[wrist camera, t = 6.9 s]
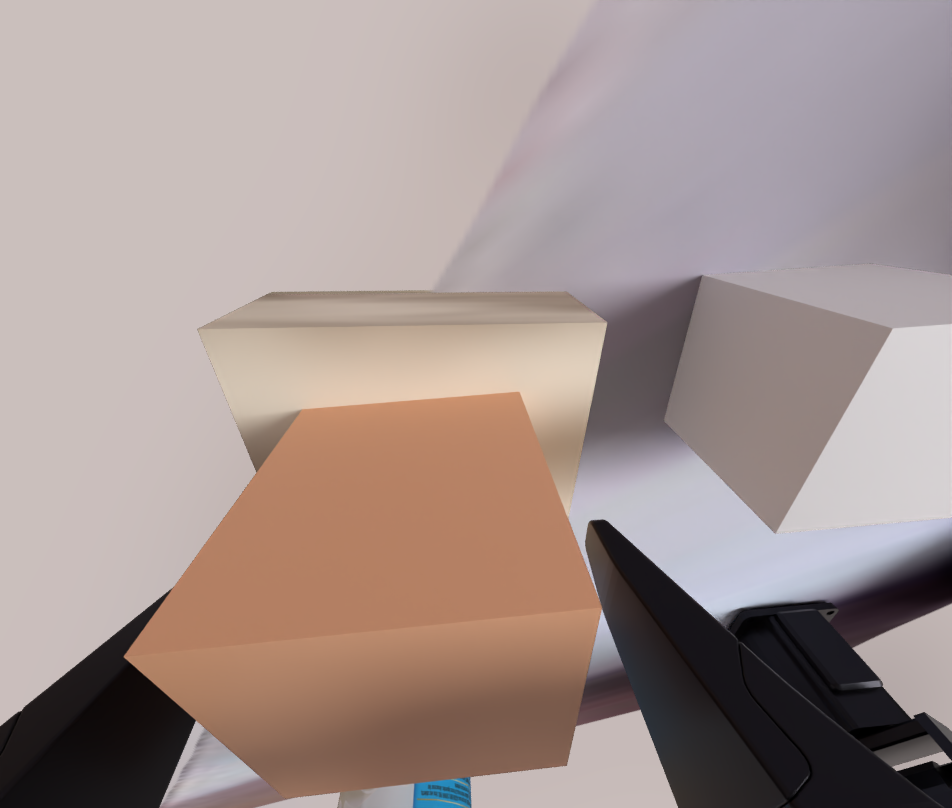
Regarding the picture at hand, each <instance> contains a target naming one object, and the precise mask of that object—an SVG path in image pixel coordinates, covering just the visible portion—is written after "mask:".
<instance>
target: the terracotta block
mask: <svg viewBox="0 0 952 808" xmlns="http://www.w3.org/2000/svg"><path fill="white" fill-rule="evenodd" d="M601 610H602V606H601V604H600V601H599V598H598V596H597V593H596V590H595V588H594V585H593V583H592V580H591V577H590V575H589V572H588V570H587V567H586V564H585V562H584V559H583V556H582V554H581V551H580V549H579V546H578V543H577V541H576V538H575V536H574V533H573V530H572V528H571V525H570V522H569V520H568V517H567V515H566V512H565V509H564V507H563V504H562V502H561V499H560V496H559V494H558V491H557V488H556V486H555V483H554V481H553V478H552V475H551V473H550V470H549V468H548V465H547V462H546V460H545V457H544V454H543V452H542V449H541V447H540V444H539V441H538V439H537V436H536V434H535V431H534V428H533V426H532V423H531V420H530V418H529V415H528V413H527V410H526V407H525V405H524V402H523V400H522V397H521V394H520V392H508V393H496V394H484V395H471V396H459V397H447V398H435V399H422V400H410V401H398V402H386V403H373V404H361V405H349V406H337V407H325V408H312V409H302V411H301V412H300V413H299V415H298V416H297V418H296V419H295V420H294V422H293V423H292V424H291V426H290V427H289V429H288V430H287V431H286V433H285V434H284V435H283V437H282V438H281V440H280V441H279V442H278V444H277V445H276V447H275V448H274V449H273V451H272V452H271V453H270V455H269V456H268V458H267V459H266V460H265V462H264V463H263V465H262V466H261V467H260V469H259V470H258V471H257V473H256V474H255V476H254V477H253V478H252V480H251V481H250V483H249V484H248V485H247V487H246V488H245V489H244V491H243V492H242V494H241V495H240V496H239V498H238V499H237V501H236V502H235V503H234V505H233V506H232V508H231V509H230V510H229V512H228V513H227V515H226V516H225V517H224V518H223V520H222V521H221V523H220V524H219V525H218V527H217V528H216V530H215V531H214V532H213V534H212V535H211V536H210V538H209V539H208V541H207V542H206V544H205V545H204V546H203V548H202V549H201V550H200V552H199V553H198V555H197V556H196V557H195V559H194V560H193V561H192V563H191V564H190V566H189V567H188V568H187V570H186V571H185V573H184V574H183V575H182V577H181V578H180V579H179V581H178V582H177V584H176V585H175V586H174V588H173V589H172V590H171V592H170V593H169V595H168V596H167V597H166V599H165V600H164V602H163V603H162V604H161V606H160V607H159V608H158V610H157V611H156V613H155V614H154V615H153V617H152V618H151V619H150V621H149V622H148V624H147V625H146V626H145V628H144V629H143V631H142V632H141V633H140V635H139V636H138V637H137V639H136V640H135V642H134V643H133V644H132V646H131V647H130V649H129V650H128V651H127V653H126V654H125V655H124V658H125V659H127V660H128V661H129V662H130V663H131V664H132V665H133V666H135V667H136V668H137V669H138V670H139V671H140V672H141V673H143V674H144V675H145V676H146V677H147V678H148V679H149V680H151V681H152V682H153V683H154V684H155V685H156V686H157V687H159V688H160V689H161V690H162V691H163V692H164V693H165V694H167V695H168V696H169V697H170V698H171V699H172V700H173V701H175V702H176V703H177V704H178V705H179V706H180V707H181V708H183V709H184V710H185V711H186V712H187V713H188V714H189V715H190V716H192V717H193V718H194V719H195V720H196V721H197V722H198V723H200V724H201V725H202V726H203V727H204V728H205V729H206V730H208V731H209V732H210V733H211V734H212V735H213V736H214V737H216V738H217V739H218V740H219V741H220V742H221V743H222V744H224V745H225V746H226V747H227V748H228V749H229V750H230V751H232V752H233V753H234V754H235V755H236V756H237V757H238V758H240V759H241V760H242V761H243V762H244V763H245V764H246V765H248V766H249V767H250V768H251V769H252V770H253V771H254V772H255V773H257V774H258V775H259V776H260V777H261V778H262V779H263V780H265V781H266V782H267V783H268V784H269V785H270V786H271V787H273V788H274V789H275V790H276V791H277V792H278V793H279V794H281V795H282V796H283V797H284V798H285V799H286V798H295V797H303V796H312V795H319V794H328V793H337V792H346V791H355V790H363V789H372V788H380V787H389V786H397V785H406V784H414V783H423V782H431V781H440V780H449V779H457V778H466V777H474V776H483V775H490V774H500V773H508V772H517V771H525V770H534V769H542V768H550V767H559V766H567V762H568V758H569V754H570V749H571V744H572V740H573V736H574V731H575V727H576V722H577V718H578V713H579V709H580V704H581V700H582V695H583V691H584V686H585V682H586V677H587V673H588V668H589V664H590V659H591V655H592V650H593V646H594V641H595V637H596V632H597V628H598V624H599V619H600V615H601Z"/></svg>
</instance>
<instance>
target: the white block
mask: <svg viewBox="0 0 952 808" xmlns="http://www.w3.org/2000/svg"><path fill="white" fill-rule="evenodd" d="M664 421H665V422H666V423H667V424H668V426H669V427H670V428H671V429H672V430H673V431H674V432H675V433H676V434H677V435H678V436H679V437H680V438H681V439H682V440H683V441H684V442H685V443H686V444H687V445H688V446H689V447H690V448H691V449H692V450H693V451H694V452H695V453H696V454H697V455H698V456H699V457H700V458H701V459H702V460H703V461H704V462H705V463H706V464H707V465H708V466H709V467H710V468H711V469H712V470H713V471H714V472H715V473H716V474H717V475H718V476H719V477H720V478H721V479H722V480H723V481H724V482H725V483H726V484H727V485H728V486H729V487H730V488H731V489H732V490H733V491H734V492H735V493H736V494H737V495H738V496H739V498H740V499H741V500H742V501H743V502H744V503H745V504H746V505H747V506H748V507H749V508H750V509H751V510H752V511H753V512H754V513H755V514H756V515H757V516H758V517H759V518H760V519H761V520H762V521H763V522H764V523H765V524H766V525H767V526H768V527H769V528H770V529H771V530H772V531H773V532H774V533H775V534H780V533H791V532H802V531H812V530H823V529H834V528H845V527H856V526H867V525H878V524H889V523H900V522H911V521H922V520H932V519H943V518H952V275H949V274H942V273H935V272H928V271H921V270H914V269H907V268H899V267H892V266H885V265H878V264H871V263H869V264H855V265H840V266H826V267H811V268H797V269H782V270H768V271H753V272H739V273H724V274H710V275H702V278H701V282H700V286H699V290H698V293H697V297H696V301H695V305H694V309H693V312H692V316H691V320H690V324H689V327H688V331H687V335H686V339H685V342H684V346H683V350H682V354H681V357H680V361H679V365H678V369H677V373H676V376H675V380H674V384H673V388H672V391H671V395H670V399H669V403H668V406H667V410H666V414H665V418H664Z"/></svg>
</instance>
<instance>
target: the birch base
mask: <svg viewBox="0 0 952 808" xmlns="http://www.w3.org/2000/svg"><path fill="white" fill-rule="evenodd" d="M431 292H432V290H408V291H407V290H404V291H308V292H271V293H269V294H267V295H265V296H263V297H261V298H259V299H257V300H255V301H253V302H251V303H249V304H247V305H245V306H243V307H241V308H239V309H237V310H235V311H233V312H231V313H229V314H227V315H225V316H223V317H221V318H219V319H217V320H215V321H213V322H211V323H209V324H207V325H205V326H203V327H201V328H199V329H197V330H198V332H199V335H200V337H201V339H202V342H203V344H204V347H205V349H206V352H207V354H208V356H209V359H210V361H211V364H212V366H213V369H214V371H215V373H216V376H217V378H218V381H219V383H220V385H221V388H222V390H223V393H224V395H225V397H226V400H227V402H228V405H229V407H230V410H231V412H232V414H233V417H234V419H235V422H236V424H237V427H238V429H239V431H240V433H241V436H242V439H243V441H244V443H245V446H246V448H247V450H248V453H249V455H250V458H251V460H252V462H253V465H254V467H255V470H256V472H257V471H258V470H259V469H260V467H261V466H262V465H263V463H264V462H265V460H266V459H267V458H268V456H269V455H270V453H271V452H272V451H273V449H274V448H275V447H276V445H277V444H278V442H279V441H280V440H281V438H282V437H283V435H284V434H285V433H286V431H287V430H288V429H289V427H290V426H291V424H292V423H293V422H294V420H295V419H296V418H297V416H298V415H299V413H300V412H301V411H302V409H312V408H325V407H337V406H349V405H361V404H373V403H386V402H398V401H410V400H422V399H435V398H447V397H459V396H471V395H484V394H496V393H508V392H520V394H521V397H522V400H523V402H524V405H525V407H526V410H527V413H528V415H529V418H530V420H531V423H532V426H533V428H534V431H535V434H536V436H537V439H538V441H539V444H540V447H541V449H542V452H543V454H544V457H545V460H546V462H547V465H548V468H549V470H550V473H551V475H552V478H553V481H554V483H555V486H556V488H557V491H558V494H559V496H560V499H561V502H562V504H563V507H564V509H565V512H566V515H567V517H569V512H570V507H571V502H572V497H573V492H574V487H575V482H576V477H577V472H578V467H579V462H580V457H581V452H582V447H583V442H584V437H585V432H586V427H587V422H588V417H589V412H590V407H591V402H592V397H593V392H594V387H595V382H596V377H597V372H598V367H599V362H600V357H601V352H602V347H603V342H604V337H605V332H606V327H607V322H606V321H605V320H603V319H602V318H601V317H599V316H598V315H597V314H595V313H594V312H593V311H591V310H590V309H589V308H588V307H586V306H585V305H584V304H582V303H581V302H580V301H578V300H577V299H576V298H574V297H573V296H572V295H570V294H569V293H568V292H471V293H431Z"/></svg>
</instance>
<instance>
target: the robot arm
mask: <svg viewBox="0 0 952 808" xmlns="http://www.w3.org/2000/svg"><path fill="white" fill-rule="evenodd" d="M585 546H586V551H587V555H588V559H589V562H590V566H591V570H592V573H593V577H594V581H595V585H596V588H597V592H598V596H599V599H600V603H601V606H602V610H603V613H604V615H605V618H606V621H607V624H608V626H609V629H610V631H611V634H612V637H613V639H614V642H615V644H616V647H617V650H618V652H619V655H620V657H621V660H622V663H623V665H624V668H625V670H626V673H627V676H628V678H629V681H630V683H631V686H632V689H633V691H634V694H635V696H636V699H637V702H638V704H639V707H640V709H641V712H642V715H643V717H644V720H645V722H646V725H647V728H648V730H649V733H650V735H651V738H652V740H653V743H654V746H655V748H656V751H657V754H658V756H659V759H660V761H661V764H662V766H663V769H664V772H665V774H666V777H667V780H668V782H669V784H670V787H671V790H672V792H673V795H674V797H675V800H676V803H677V806H678V808H952V762H951V763H947V764H943V765H938V764H937V763H935V762H933V761H930V762H927V763H924V764H920V765H917V766H914V767H910V768H906V769H903V770H900V771H896V770H895V769H893V768H892V766H895V765H899V764H902V763H905V762H909V761H912V760H915V759H919V758H922V757H926V756H929V755H932V754H936V753H939V752H943V751H944V752H945V753H946V755H947V756H948V757H949V758H950V759H951V760H952V731H950V730H949V728H947V727H946V726H944V725H943V724H941V723H940V722H938V721H937V720H935V719H934V718H932V717H931V716H929V715H928V714H926V713H925V712H923V713H920V714H917V715H914V717H915V718H914V719H911V718H910V717H909V716H908V715H907V714H906V713H905V711H904V710H903V709H902V708H901V707H900V706H899V705H898V704H897V703H896V701H895V700H894V699H893V698H892V697H891V696H890V695H889V694H888V693H887V691H886V690H885V689H884V688H883V687H882V686H883V683H882V681H881V680H880V679H879V677H878V676H877V675H876V674H875V673H874V672H873V671H872V670H871V669H870V667H869V666H868V665H867V664H866V663H865V662H864V661H863V660H862V659H861V658H860V656H859V655H858V654H857V653H856V652H855V651H854V650H853V649H852V647H851V646H850V645H849V644H848V643H847V642H846V641H845V640H844V639H843V638H842V636H841V635H840V634H839V633H838V632H837V631H836V630H835V629H834V628H833V626H832V625H831V624H830V623H829V622H830V621H831V619H832V618H833V617H834V616H835V615H836V614H837V612H838V609H837V608H836V607H835V606H834V605H833V604H832V603H819V604H809V605H798V606H787V607H777V608H766V609H756V610H747V611H744V612H742V613H740V614H739V615H738V617H737V618H736V620H735V622H734V623H733V625H732V627H731V628H730V630H729V631H728V630H727V629H726V628H725V627H724V626H723V625H722V624H720V623H719V622H718V621H717V620H716V619H715V618H714V617H713V616H712V615H710V614H709V613H708V612H707V611H706V610H705V609H704V608H703V607H702V606H701V605H699V604H698V603H697V602H696V601H695V600H694V599H693V598H692V597H691V596H689V595H688V594H687V593H686V592H685V591H684V590H683V589H682V588H681V587H680V586H678V585H677V584H676V583H675V582H674V581H673V580H672V579H671V578H670V577H668V576H667V575H666V574H665V573H664V572H663V571H662V570H661V569H660V568H658V567H657V566H656V565H655V564H654V563H653V562H652V561H651V560H650V559H649V558H647V557H646V556H645V555H644V554H643V553H642V552H641V551H640V550H639V549H637V548H636V547H635V546H634V545H633V544H632V543H631V542H630V541H629V540H628V539H626V538H625V537H624V536H623V535H622V534H621V533H620V532H619V531H618V530H616V529H615V528H614V527H613V526H612V525H611V524H610V523H609V522H608V521H606V520H591V521H590V522H589V523H588V528H587V534H586V540H585ZM173 588H174V587H173ZM173 588H172V589H173ZM172 589H171V590H172ZM171 590H169V591H168V592H167V593H166V594H164V595H163V596H162V597H161V598H159V599H158V600H157V601H156V602H155V603H153V604H152V605H151V606H149V607H148V608H147V609H146V610H145V611H143V612H142V613H141V614H140V615H138V616H137V617H136V618H135V619H133V620H132V621H131V622H130V623H128V624H127V625H126V626H125V627H123V628H122V629H121V630H120V631H118V632H117V633H116V634H115V635H113V636H112V637H111V638H110V639H109V640H107V641H106V642H105V643H103V644H102V645H101V646H100V647H99V648H97V649H96V650H95V651H93V652H92V653H91V654H90V655H88V656H87V657H86V658H85V659H84V660H82V661H81V662H80V663H79V664H77V665H76V666H75V667H74V668H72V669H71V670H70V671H69V672H67V673H66V674H65V675H64V676H62V677H61V678H60V679H59V680H57V681H56V682H55V683H54V684H52V685H51V686H50V687H49V688H48V689H46V690H45V691H44V692H42V693H41V694H40V695H39V696H37V697H36V698H35V699H34V700H33V701H31V702H30V703H29V704H28V705H26V706H25V707H24V708H23V710H22V711H20V712H18V713H16V714H15V715H14V716H12V717H11V718H10V719H9V720H8V721H6V722H5V723H4V724H3V725H1V726H0V808H159V807H160V804H161V802H162V799H163V797H164V795H165V793H166V790H167V788H168V785H169V783H170V780H171V778H172V776H173V774H174V771H175V769H176V766H177V764H178V762H179V759H180V757H181V755H182V752H183V750H184V747H185V745H186V743H187V740H188V738H189V736H190V733H191V731H192V729H193V726H194V724H195V721H196V720H195V719H194V718H193V717H192V716H190V715H189V714H188V713H187V712H186V711H185V710H184V709H183V708H181V707H180V706H179V705H178V704H177V703H176V702H175V701H173V700H172V699H171V698H170V697H169V696H168V695H167V694H165V693H164V692H163V691H162V690H161V689H160V688H159V687H157V686H156V685H155V684H154V683H153V682H152V681H151V680H149V679H148V678H147V677H146V676H145V675H144V674H143V673H141V672H140V671H139V670H138V669H137V668H136V667H135V666H133V665H132V664H131V663H130V662H129V661H128V660H127V659H125V658H124V655H125V654H126V653H127V651H128V650H129V649H130V647H131V646H132V644H133V643H134V642H135V640H136V639H137V637H138V636H139V635H140V633H141V632H142V631H143V629H144V628H145V626H146V625H147V624H148V622H149V621H150V619H151V618H152V617H153V615H154V614H155V613H156V611H157V610H158V608H159V607H160V606H161V604H162V603H163V602H164V600H165V599H166V597H167V596H168V595H169V593H170V592H171Z"/></svg>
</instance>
